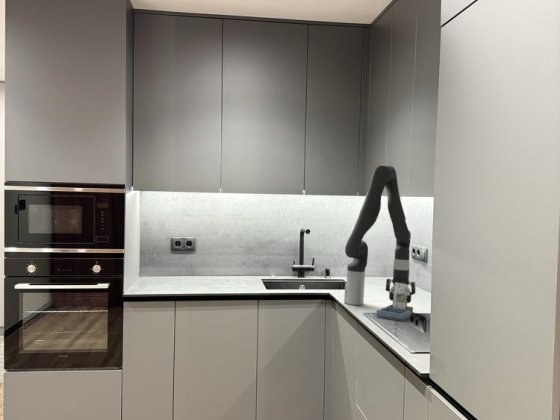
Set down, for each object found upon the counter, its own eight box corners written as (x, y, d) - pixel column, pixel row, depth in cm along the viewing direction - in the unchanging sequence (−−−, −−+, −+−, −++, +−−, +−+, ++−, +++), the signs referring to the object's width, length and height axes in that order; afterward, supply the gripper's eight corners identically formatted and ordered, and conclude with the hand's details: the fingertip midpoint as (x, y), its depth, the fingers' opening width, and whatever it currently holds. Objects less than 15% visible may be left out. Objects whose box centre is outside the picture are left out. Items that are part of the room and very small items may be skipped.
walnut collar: (385, 311, 225) (386, 306, 225) (393, 308, 233) (393, 303, 233) (405, 315, 219) (406, 310, 219) (412, 312, 227) (412, 307, 227)
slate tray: (376, 316, 213) (376, 310, 213) (386, 312, 222) (386, 306, 222) (401, 321, 206) (401, 314, 206) (410, 317, 216) (410, 310, 216)
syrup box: (403, 311, 229) (404, 281, 229) (406, 313, 223) (408, 283, 223) (392, 310, 229) (393, 281, 229) (395, 313, 223) (396, 283, 223)
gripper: (418, 269, 225) (416, 302, 225) (390, 266, 233) (388, 298, 233) (413, 270, 219) (411, 304, 219) (384, 267, 227) (383, 300, 227)
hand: (399, 301), depth 226 cm, fingers open, 8 cm apart
